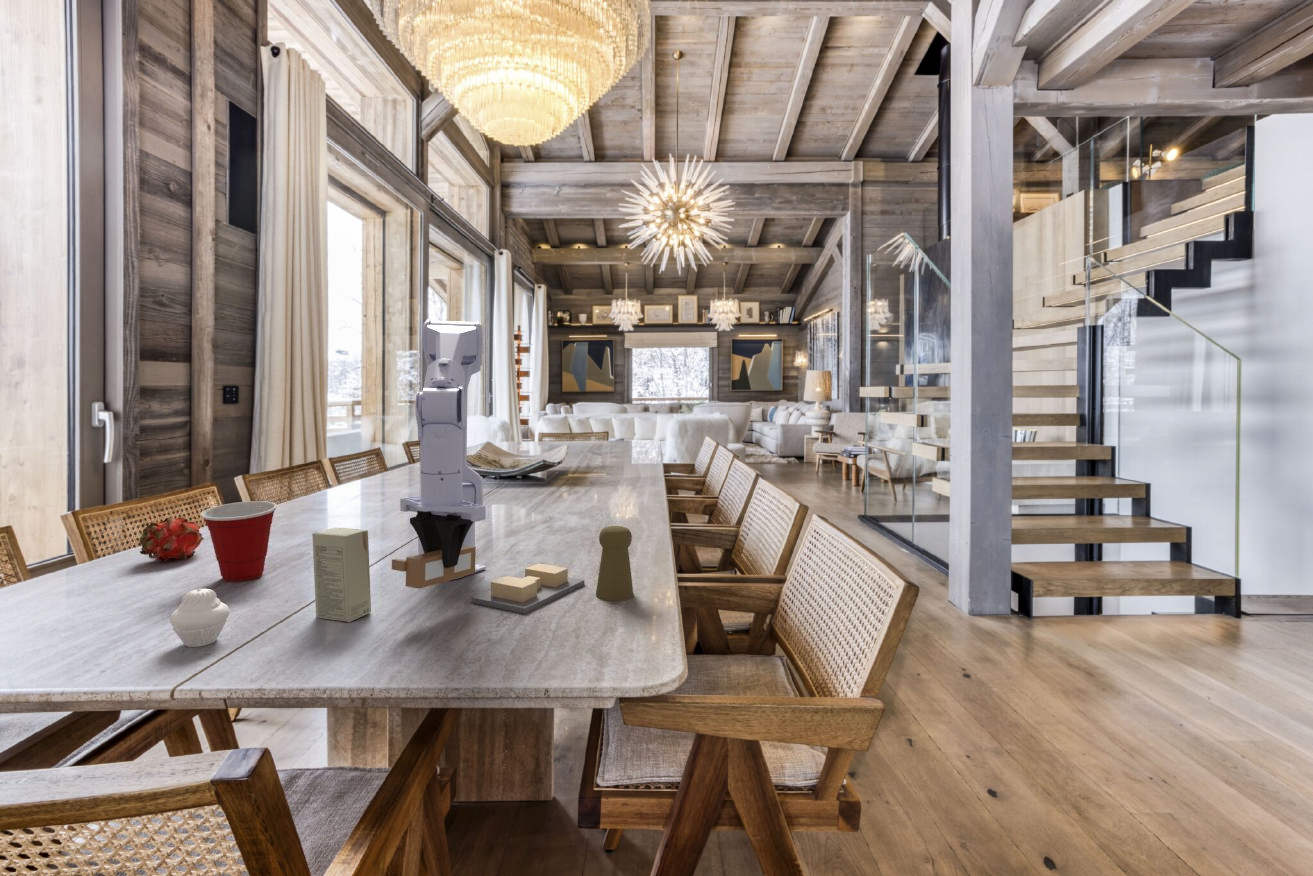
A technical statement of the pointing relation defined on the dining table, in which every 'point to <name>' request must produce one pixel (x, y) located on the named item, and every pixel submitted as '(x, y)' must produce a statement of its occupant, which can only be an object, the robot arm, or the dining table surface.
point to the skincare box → (341, 574)
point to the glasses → (435, 567)
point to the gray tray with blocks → (529, 589)
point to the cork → (615, 565)
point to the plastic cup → (240, 537)
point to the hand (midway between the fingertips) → (442, 564)
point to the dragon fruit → (170, 539)
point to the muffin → (199, 618)
